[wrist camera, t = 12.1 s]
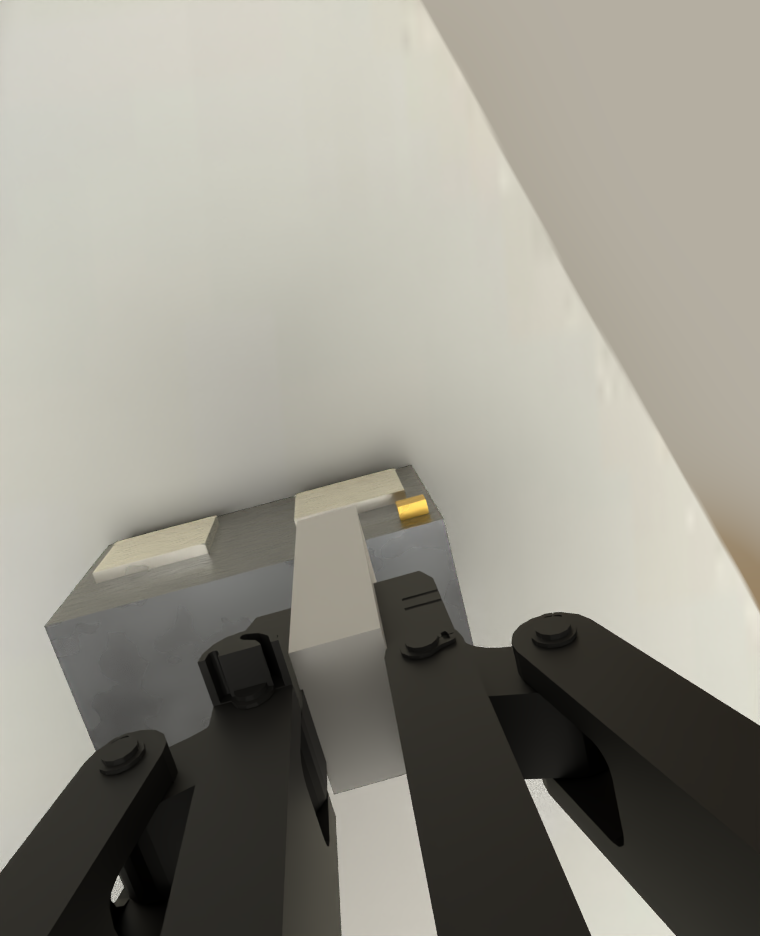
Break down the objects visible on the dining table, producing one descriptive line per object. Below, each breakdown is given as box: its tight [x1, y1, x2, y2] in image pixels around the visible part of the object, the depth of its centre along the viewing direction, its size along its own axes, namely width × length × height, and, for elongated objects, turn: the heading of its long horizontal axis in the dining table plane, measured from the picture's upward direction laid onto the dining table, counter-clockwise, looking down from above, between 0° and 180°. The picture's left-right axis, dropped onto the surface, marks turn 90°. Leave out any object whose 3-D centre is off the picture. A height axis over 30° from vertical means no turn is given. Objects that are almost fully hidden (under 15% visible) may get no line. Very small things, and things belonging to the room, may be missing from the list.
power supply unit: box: [45, 465, 473, 751], centre depth 33 cm, size 16×9×9 cm, turn 104°
